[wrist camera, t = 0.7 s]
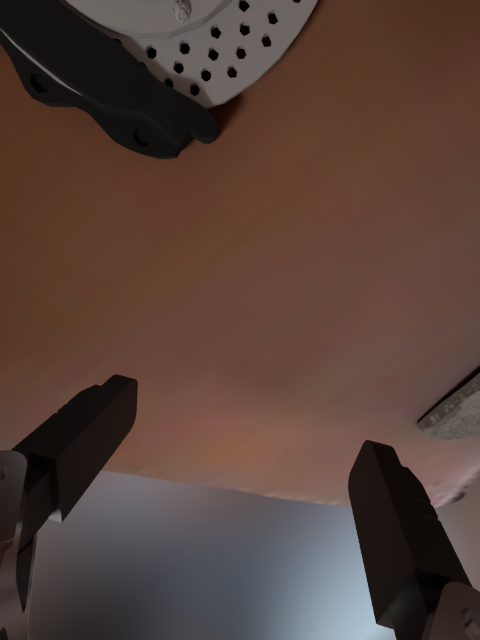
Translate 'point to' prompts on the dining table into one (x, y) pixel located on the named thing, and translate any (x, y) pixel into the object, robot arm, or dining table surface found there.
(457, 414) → the stone
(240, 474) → the dining table surface
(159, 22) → the brake disc
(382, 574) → the robot arm
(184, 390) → the dining table surface
